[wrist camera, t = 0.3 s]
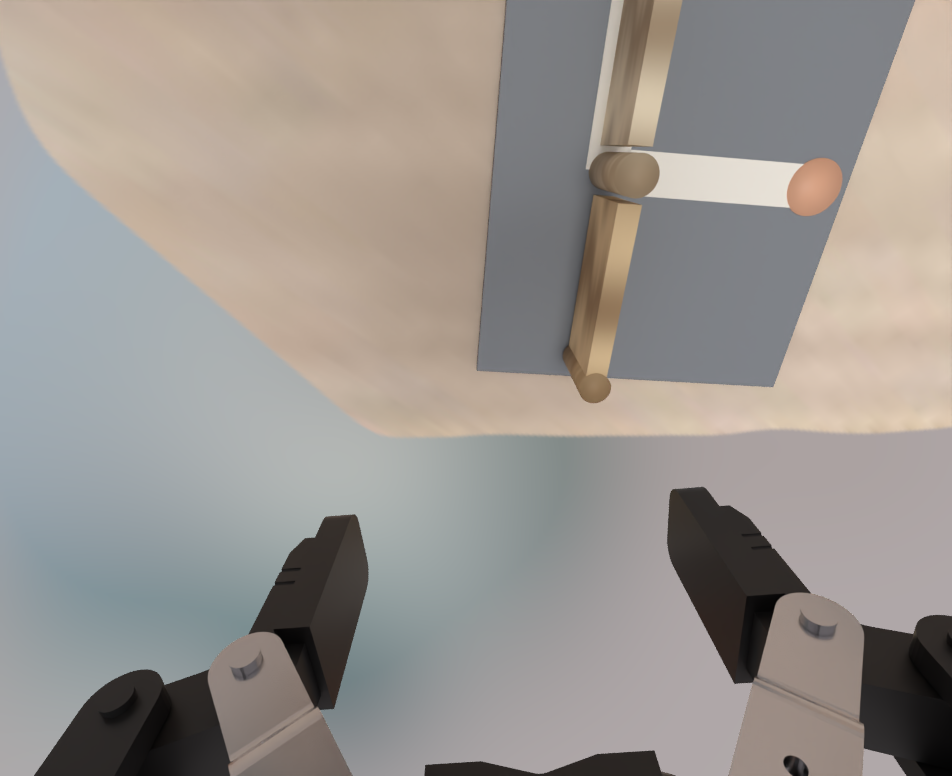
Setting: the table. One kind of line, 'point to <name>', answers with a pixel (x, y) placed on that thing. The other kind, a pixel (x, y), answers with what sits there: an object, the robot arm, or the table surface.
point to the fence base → (636, 96)
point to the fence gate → (601, 294)
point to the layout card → (679, 179)
